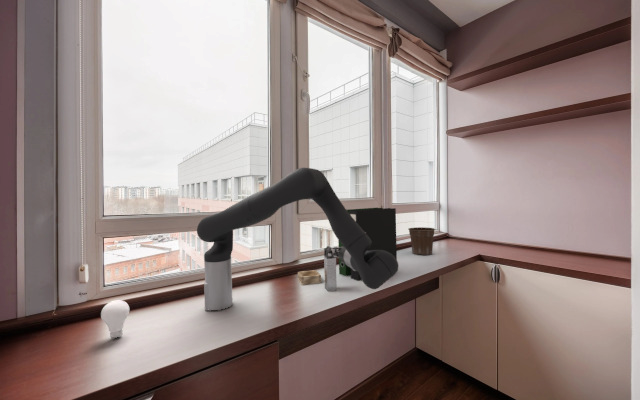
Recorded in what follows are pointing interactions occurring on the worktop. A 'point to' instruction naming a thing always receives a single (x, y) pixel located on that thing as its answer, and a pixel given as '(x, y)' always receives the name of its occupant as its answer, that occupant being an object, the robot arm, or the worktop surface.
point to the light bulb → (115, 316)
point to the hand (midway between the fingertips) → (338, 247)
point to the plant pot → (422, 240)
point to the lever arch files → (373, 233)
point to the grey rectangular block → (330, 273)
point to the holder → (309, 277)
